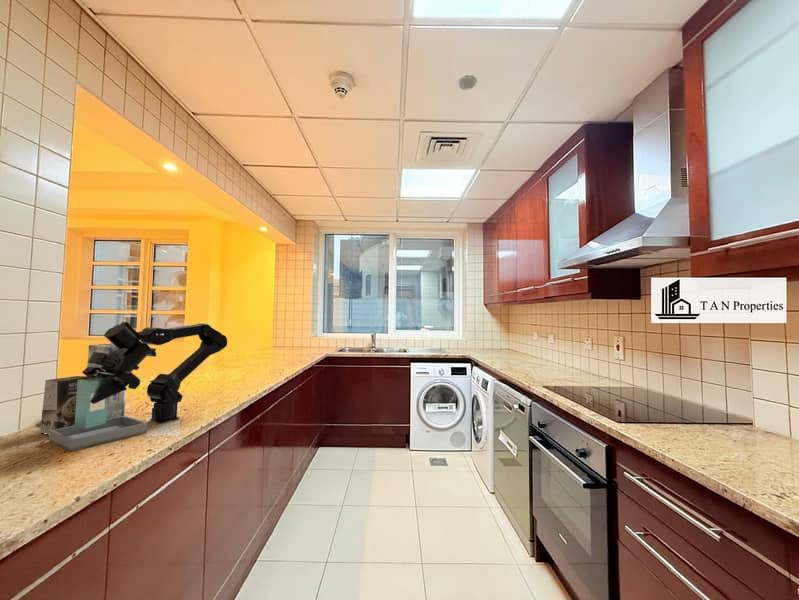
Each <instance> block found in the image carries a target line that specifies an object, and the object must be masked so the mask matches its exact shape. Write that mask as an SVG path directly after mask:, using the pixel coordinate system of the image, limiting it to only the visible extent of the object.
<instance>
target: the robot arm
mask: <svg viewBox="0 0 799 600" xmlns="http://www.w3.org/2000/svg"><path fill="white" fill-rule="evenodd" d="M103 336H104V337H105V338H106V339H107V340H108V341H109V342H110V344H111V343H112V344H114V345H115V346H116V347H117V348H118V349H126V350H125V351H124V352H123V353H122V354H121V355H119V354H118V353H115V352H109V353H108V354H106V353H100V352H94V353H93V354H92V356H91V358H90V359H89V361H88V360H87V363H88V362H89V363H94V364H98V365H101V367H100V368H99V367H93V366H92V367H87V366H86V368H84V370H82V371H81V372H82V374H83V375H85V376H87V377H88V379H89V378H96V377H100V378H106V383H105V385H104V386H103V387H102V389H101V390H100V391H99V392H98V393H97V394H96V396H95V397H94V398H93V399H92V401H91V402H92V403H93V404H95V403H97V402H99V401H101V400H104V399H106V398H108V397H110V396H112V395H114V394H117V393H119V392H121V391H124V390H126V391H127V389H128V388H129V390H130V389H132V390H136V389H137V388H138V387H139V386H140V384H141V379H140V378H139V377H137V375H135V374H134V373H133V371H138V370H139V369H140V366H138V365H140V364H141V363H142V361H144V359H146V358H147V357H154V358H155V357H157V352H156V350H157V349H156V348H155V347H154V348H153V347H151V346H162V345H164V344H167V343H169V342H172V341H173V340H175V339H181V338H186V337H188V338H189V337H194V336H198V338H199V340H200V341H201V342H200V345H199V347H198V348H197V349H196V350H195V351H194V352H192V354H190V355H189V356H188V357H187V358H186V359H184V361H182V362H181V363H180V364H179V365H178V366H176V368H174V369H173V370H171V372H169V373H159V374H158V375H157V376H155V378H153V379H152V380H150V381H149V384H148V385H147V387H146V394H147V396H148V397H149V399H150V400H149V401H150V402H151V403H153V407H152V408H151V416H150V417H151V418H150V420H149V421H150V422H154V423H156V424H162V423H168V422H171V421H175V420H179V419H180V417H179V416H178V403H181V402H182V399H183V394H182V393H180V392H179V389H180V387H181V384H182V382H183V381H184V380H185V379H186V378H187V377H188V376H189V375H190V374H191V373H193V371H195V370H196V369H197V368H198V367H199V366H200V365H201V364H202V363H203V362H204V361H205V360H207V359H209V357H210V356H211V355H215V354H217V353H219V352H221V351H222V350H224V349H225V348H226V347H227V346H228V338H227V336H226V335H224V334H222V332H220V331H219V330H216V329H215V328H213V327H212V326H211V325H209V324H208V323H196V324H190V325H183V326H177V327H145V328H142V330H141V331H136V330H135V328H133V327H132V325H131V324H130V323H129V322H128V321H122V322H121V323H118V324H116V325H115V326H112V327H110V328H108V329H107V330H106V331H105V332H104V335H103ZM149 345H151V346H149ZM101 368H102V369H103V370H105V372H104V371H103V370H102V369H101ZM126 386H127V387H128V388H126Z"/></svg>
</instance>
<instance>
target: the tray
mask: <svg viewBox="0 0 799 600" xmlns="http://www.w3.org/2000/svg"><path fill="white" fill-rule="evenodd" d="M147 430H148V422H147V421H146V422H145V421H143V420H139V419H137V418H134V417H130V416H127V415H124V416H120V417H115V418H110V419H106V424H102V425H98V426H94V427H90V428H86V429H85V428H81V427H76V426H70V427H65V428H60V429H55V430H50V435H48V436H49V437H48V438H49V439H48V441H49V440H50V441H51V442H53V443H55V444H54V445H56V444H57V445H56V446H58V447H60V448H62V449H63V450H66V451H68V452H70V453H71V452H75V451H79V450H82V448H83V449H87V448H91V447H94V446H95V447H96V446H98V445H103V444H107V443H110V442H115V441H119V440H122V439H123V440H124V439H127V438H130V437H135V436H139V435H143V434H147V432H148V431H147ZM51 442H50V443H51ZM53 443H52V444H53ZM86 447H87V448H86ZM78 449H79V450H78ZM74 450H75V451H74Z"/></svg>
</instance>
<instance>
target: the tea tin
mask: <svg viewBox="0 0 799 600" xmlns="http://www.w3.org/2000/svg"><path fill="white" fill-rule="evenodd" d="M105 383H106V378H100V377H96V378H89V379H82V380H78V382H77V397H76V412H75V426H76V427H81V428H85V429H86V428H90V427H94V426H98V425H102V424H106V416H107V400H108V398H106V399H104V400H101V401H99V402H97V403H95V404H93V403H92V402H91V401H92V399H93V398H94V397H95V396H96V394H97V393H98V392H99V391H100V390H101V389H102V387H103V386H104V385H105Z"/></svg>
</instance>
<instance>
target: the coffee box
mask: <svg viewBox="0 0 799 600" xmlns="http://www.w3.org/2000/svg"><path fill="white" fill-rule="evenodd" d="M82 379H88V377H87V376H86V375H85V376H83V375H82V376H81V375H77V376H76V375H74V376H69V377H68V376H67V377H60V378H53V379H45V381H44V382H45V383H44V391H43V392H44V394H43V402H42V411H41V421H40V428H39V429H40V430H39V433H40V432H41V433H47V434H50V430H55V429H60V428H65V427H70V426H75V412H76V397H77V382H78V380H82Z"/></svg>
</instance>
